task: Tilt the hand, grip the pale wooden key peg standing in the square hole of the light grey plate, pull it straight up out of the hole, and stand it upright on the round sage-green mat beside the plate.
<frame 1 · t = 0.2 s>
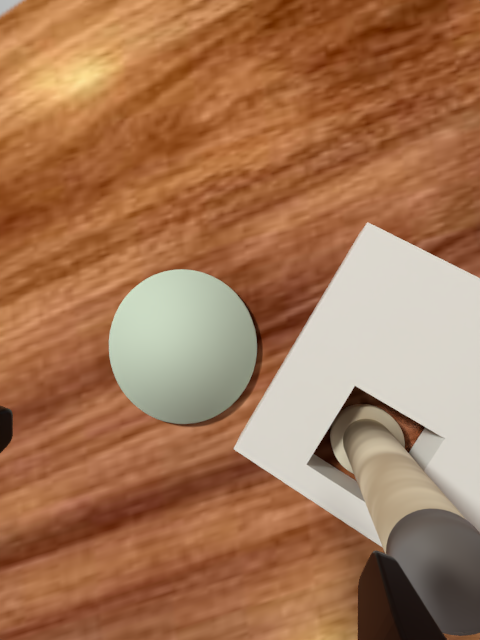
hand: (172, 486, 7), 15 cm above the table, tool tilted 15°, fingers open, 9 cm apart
socket plate: (364, 436, 21), on the table
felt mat: (182, 346, 23), on the table
key peg: (391, 481, 15), in the socket plate
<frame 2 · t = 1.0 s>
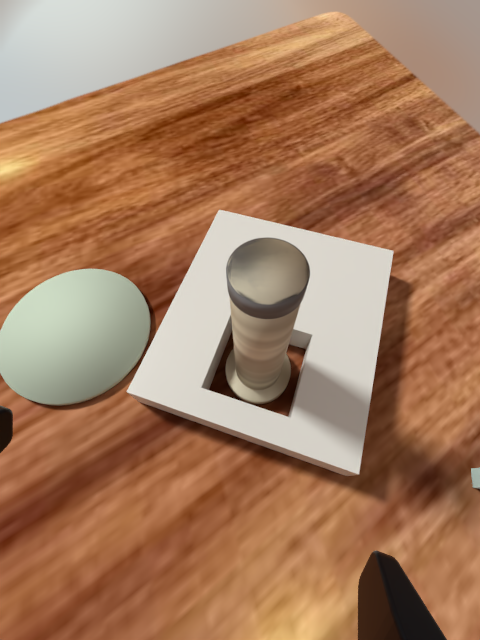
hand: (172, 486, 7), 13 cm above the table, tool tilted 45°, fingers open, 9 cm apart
socket plate: (257, 372, 22), on the table
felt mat: (77, 332, 24), on the table
key peg: (261, 337, 17), in the socket plate
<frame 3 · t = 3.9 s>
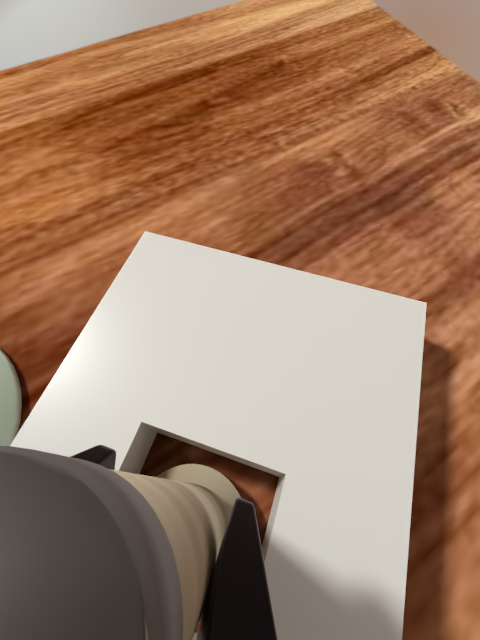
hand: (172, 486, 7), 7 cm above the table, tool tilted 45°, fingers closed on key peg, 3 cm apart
socket plate: (191, 527, 13), on the table
key peg: (152, 552, 7), in the socket plate, touching gripper
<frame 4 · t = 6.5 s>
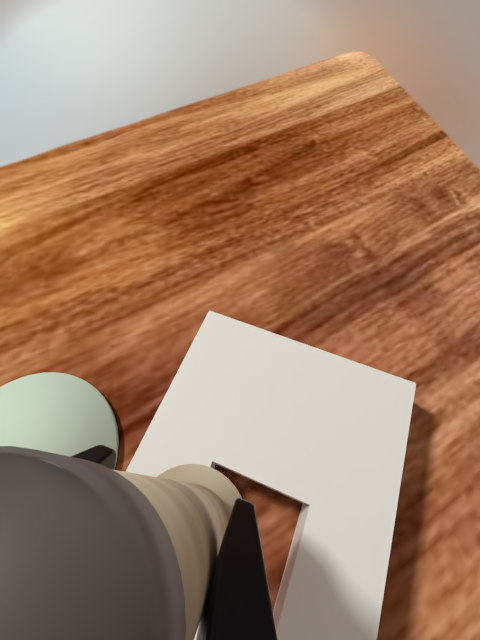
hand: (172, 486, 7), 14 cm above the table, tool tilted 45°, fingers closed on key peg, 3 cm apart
socket plate: (240, 534, 18), on the table
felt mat: (31, 458, 20), on the table
key peg: (153, 552, 7), point 13 cm above the table, touching gripper
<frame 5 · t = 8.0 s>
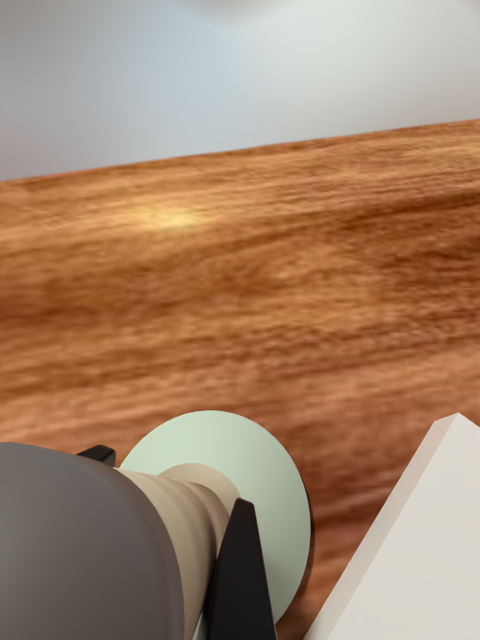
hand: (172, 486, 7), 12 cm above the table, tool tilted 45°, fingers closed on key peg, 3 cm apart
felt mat: (206, 515, 17), on the table
key peg: (153, 550, 7), point 11 cm above the table, touching gripper
when the fingers open (8 cm above the table, at t = 9.0 s): key peg stays where it is, resting on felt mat.
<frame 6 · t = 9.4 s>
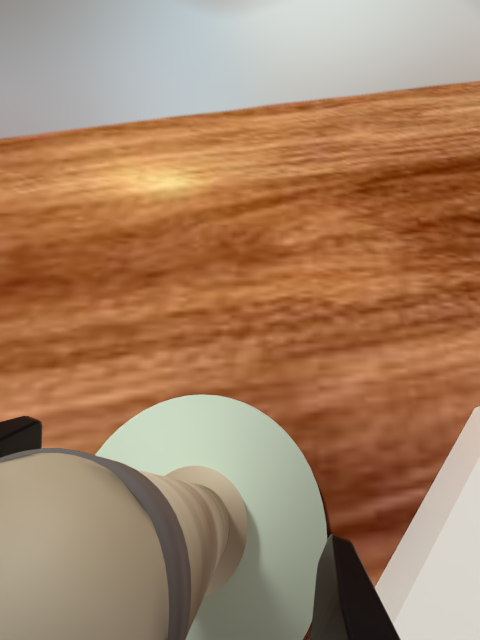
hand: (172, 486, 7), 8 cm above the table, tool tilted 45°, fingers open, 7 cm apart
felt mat: (196, 523, 14), on the table
key peg: (160, 544, 8), on the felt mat
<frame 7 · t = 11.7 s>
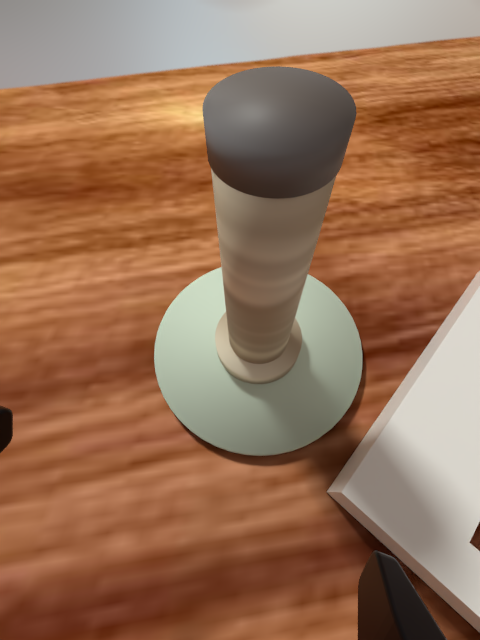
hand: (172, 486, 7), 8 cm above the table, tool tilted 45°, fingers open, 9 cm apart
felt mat: (257, 347, 18), on the table
key peg: (263, 278, 12), on the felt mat
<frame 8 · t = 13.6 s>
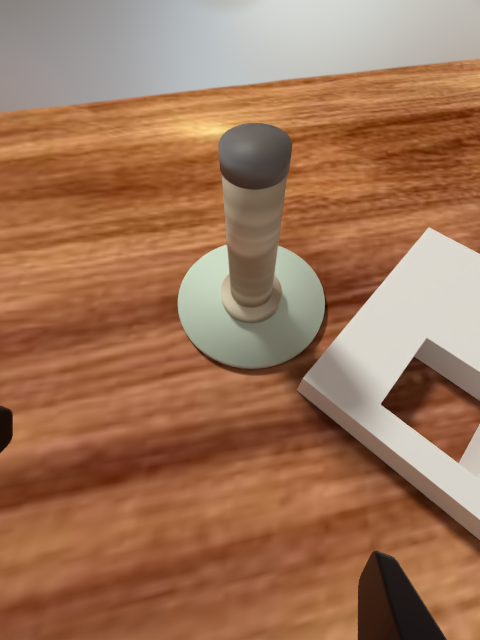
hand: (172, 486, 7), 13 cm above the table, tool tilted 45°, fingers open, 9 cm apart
socket plate: (427, 410, 20), on the table
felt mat: (250, 300, 25), on the table
key peg: (252, 242, 19), on the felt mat
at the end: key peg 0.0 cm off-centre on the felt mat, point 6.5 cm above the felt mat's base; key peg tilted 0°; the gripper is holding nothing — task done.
